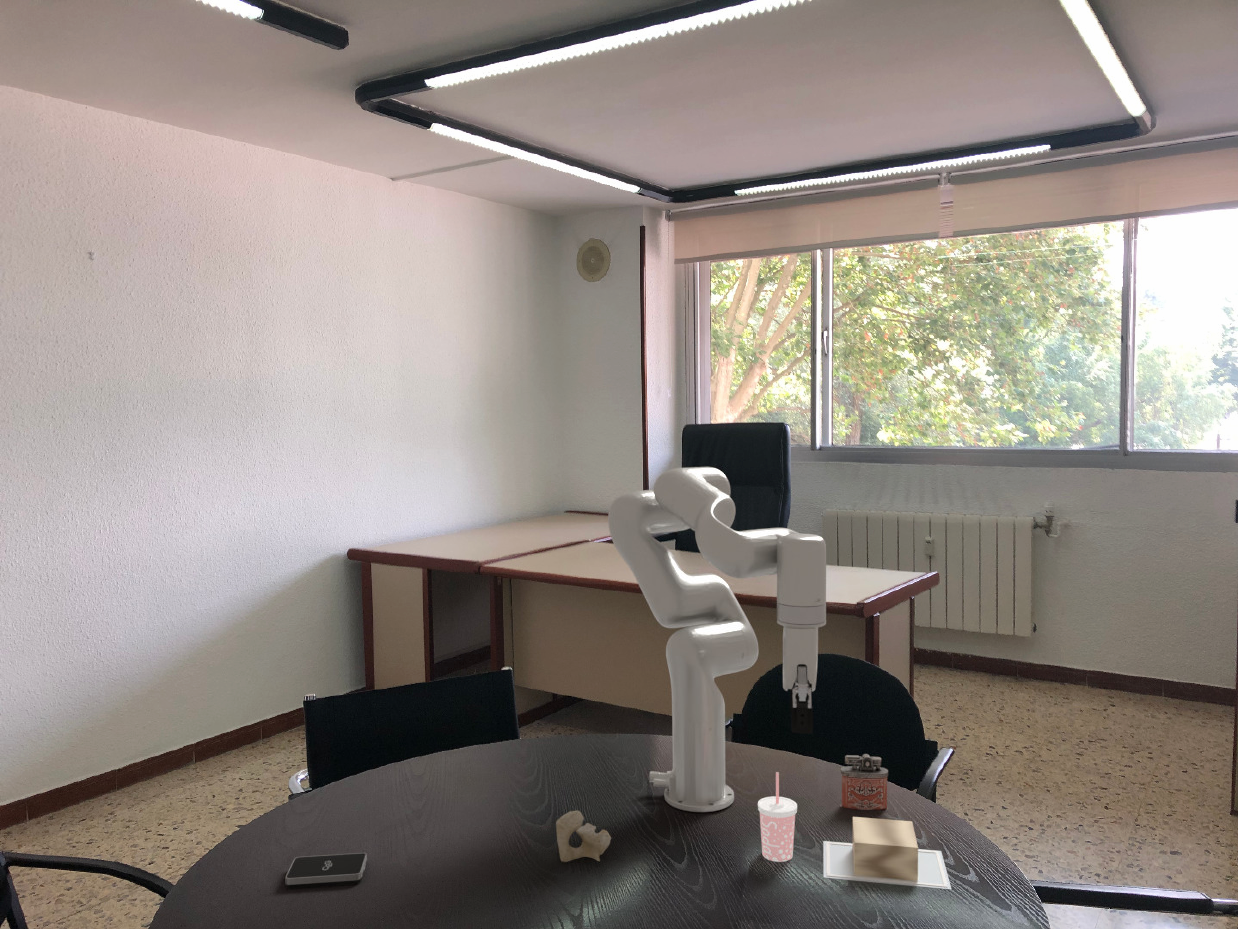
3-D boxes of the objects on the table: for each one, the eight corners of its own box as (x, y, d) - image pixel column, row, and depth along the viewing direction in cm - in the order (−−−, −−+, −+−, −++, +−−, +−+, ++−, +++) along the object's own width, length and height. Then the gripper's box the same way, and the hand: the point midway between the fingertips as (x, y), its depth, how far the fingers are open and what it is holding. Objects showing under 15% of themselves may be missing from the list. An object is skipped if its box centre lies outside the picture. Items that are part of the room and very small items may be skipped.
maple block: (854, 875, 138) (854, 842, 138) (852, 847, 147) (852, 816, 147) (917, 881, 136) (918, 847, 136) (912, 852, 145) (912, 821, 145)
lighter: (886, 808, 164) (886, 752, 163) (889, 816, 161) (889, 759, 160) (839, 807, 165) (839, 751, 164) (842, 815, 161) (842, 758, 161)
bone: (616, 834, 152) (608, 795, 146) (614, 870, 146) (605, 832, 141) (564, 835, 152) (554, 797, 147) (560, 872, 147) (550, 834, 142)
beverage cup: (750, 856, 147) (749, 769, 146) (783, 848, 149) (783, 762, 148) (771, 873, 141) (771, 783, 140) (805, 865, 144) (805, 776, 143)
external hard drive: (360, 887, 139) (360, 874, 139) (284, 892, 138) (283, 879, 138) (367, 865, 146) (367, 852, 146) (294, 869, 145) (294, 857, 145)
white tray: (823, 884, 138) (823, 876, 138) (823, 847, 149) (823, 840, 149) (951, 896, 134) (951, 888, 134) (941, 857, 146) (941, 850, 146)
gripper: (777, 602, 154) (777, 704, 155) (776, 625, 137) (776, 740, 138) (823, 603, 153) (823, 706, 153) (828, 627, 136) (828, 742, 136)
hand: (801, 722), depth 146 cm, fingers open, 9 cm apart
